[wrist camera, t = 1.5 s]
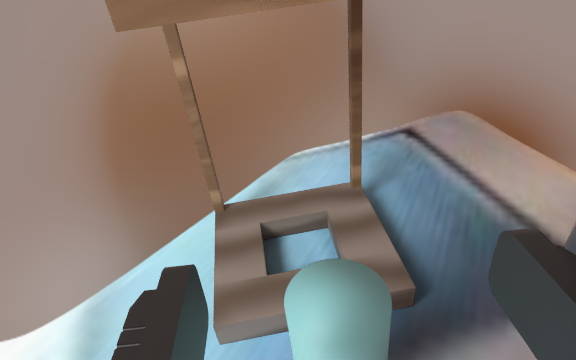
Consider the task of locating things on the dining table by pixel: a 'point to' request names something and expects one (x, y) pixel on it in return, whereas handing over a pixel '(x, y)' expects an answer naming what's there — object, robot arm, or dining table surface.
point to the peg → (338, 312)
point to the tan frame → (281, 208)
